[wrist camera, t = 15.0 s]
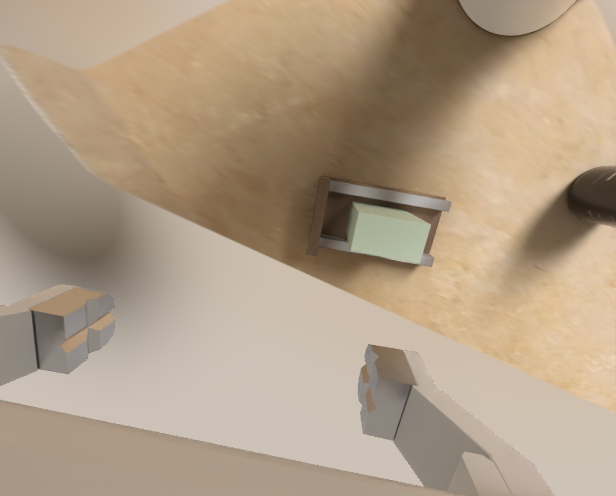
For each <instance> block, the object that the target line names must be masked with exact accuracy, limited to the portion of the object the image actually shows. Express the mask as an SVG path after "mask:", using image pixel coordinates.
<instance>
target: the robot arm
mask: <svg viewBox="0 0 616 496" xmlns="http://www.w3.org/2000/svg"><path fill="white" fill-rule="evenodd" d="M576 1H577V0H459V2H460V4H461V6H462V8H463V9H464V11H465V12H466V14H467V15H468V16H469V17H470V18H471V19H472V21H474V22H475V23H476V24H477V25H478V26H480V27H481V28H483V29H485V30H487V31H489V32H492V33H495V34H499V35H507V36H513V35H522V34H527V33H530V32H533V31H536V30H538V29H541V28H543V27H545V26H546V25H548V24H550V23H551V22H553V21H554V20H556V19H557V18H558V17H560V16H561V15H562V14H563V13H564V12H565V11H566V10H567V9H568V8H569V7H570V6H571V5H572V4H573V3H575V2H576ZM114 308H115V304H114V297H113V296H112V295H111V294H108V293H103V292H99V291H94V290H90V289H85V288H79V287H76V286H70V285H61V284H60V285H57V286H55V287H52V288H50V289H47V290H45V291H43V292H40V293H38V294H36V295H33V296H31V297H28V298H26V299H24V300H21V301H19V302H16V303H14V304H12V305H9V306H5V305H0V386H1V385H4V384H6V383H9V382H11V381H13V380H16V379H18V378H20V377H23V376H26V375H28V374H30V373H33V372H35V371H37V370H38V369H41V370H48V371H53V372H59V373H65V374H69V373H70V372H72V371H73V370H74V369H75V368H77V367H78V366H79V365H80V364H82V363H83V362H84V361H86V360H87V359H88V355H89V353H91V352H94V351H96V350H99V349H101V348H102V347H103V346H105V345H106V344H107V343H108V342H109V340H110V338H111V337H112V335H113V333H114V329H115V319H114V318H113V316H112V315H111V313H110V312H111V311H112V310H113V309H114ZM365 361H366V365H365V366H363V367H362V368H361V372H360V376H359V383H358V398H359V402H360V403H361V404H362V409H361V412H360V414H361V422H362V430H363V434H367V435H371V436H375V437H380V438H384V439H388V440H393V441H394V443H395V445H396V446H397V448H398V449H399V451H400V452H401V454H402V455H403V456H404V458H405V459H406V461H407V462H408V464H409V465H410V466H411V468H412V469H413V471H414V472H415V474H416V475H417V477H418V478H419V479H420V481H421V482H422V484H423V485H424V487H422V486H417V485H412V484H407V483H402V482H398V481H393V480H388V479H383V478H377V477H373V476H368V475H363V474H358V473H353V472H348V471H342V470H338V469H333V468H328V467H324V466H319V465H314V464H309V463H304V462H300V461H295V460H290V459H285V458H280V457H275V456H270V455H265V454H261V453H256V452H251V451H246V450H241V449H236V448H231V447H227V446H222V445H217V444H213V443H207V442H203V441H198V440H193V439H188V438H183V437H178V436H173V435H169V434H164V433H159V432H154V431H149V430H144V429H139V428H134V427H129V426H124V425H120V424H114V423H109V422H105V421H100V420H94V419H90V418H85V417H80V416H75V415H70V414H65V413H61V412H56V411H51V410H46V409H41V408H37V407H32V406H27V405H22V404H17V403H12V402H7V401H3V400H0V496H555V495H554V494H553V492H552V491H551V489H550V488H549V486H548V485H547V483H546V482H545V480H544V479H543V478H542V476H541V475H540V473H539V472H538V471H537V469H536V467H535V466H534V464H532V463H531V462H530V461H529V460H528V459H526V458H525V457H524V456H522V455H521V454H520V453H519V452H518V451H516V450H515V449H514V448H513V447H511V446H510V445H509V444H508V443H506V442H505V441H504V440H503V439H501V438H500V437H499V436H498V435H496V434H495V433H494V432H493V431H492V430H490V429H489V428H488V427H487V426H485V425H484V424H483V423H482V422H480V421H479V420H478V419H477V418H475V417H474V416H473V415H472V414H470V413H469V412H468V411H467V410H466V409H464V408H463V407H462V406H460V405H459V404H458V403H457V402H456V401H454V400H453V399H451V397H449V396H448V395H447V394H446V393H444V392H443V391H439V390H437V388H436V386H435V384H434V382H433V380H432V378H431V376H430V374H429V372H428V370H427V368H426V366H425V364H424V362H423V360H422V358H421V356H420V354H419V353H418V352H413V351H407V350H400V349H394V348H388V347H382V346H376V345H370V344H369V345H368V346H367V349H366V352H365Z"/></svg>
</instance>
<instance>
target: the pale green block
mask: <svg viewBox="0 0 616 496" xmlns="http://www.w3.org/2000/svg"><path fill="white" fill-rule="evenodd" d="M430 227H431V224H429V223H427V222H425V221H423V220H422V219H420V218H418V217H416V216H414V215H412V214H411V213H409V212H407V211H405V210H400V209H394V208H389V207H383V206H377V205H372V204H366V203H361V202H355V201H351V206H350V211H349V215H348V220H347V225H346V230H345V231H346V235H347V239H348V243H349V247H350V251H353V252H358V253H364V254H369V255H375V256H380V257H386V258H391V259H397V260H402V261H408V262H413V263H419V264H420V261H421V258H422V255H423V251H424V248H425V244H426V241H427V238H428V234H429V231H430Z"/></svg>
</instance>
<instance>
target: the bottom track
mask: <svg viewBox="0 0 616 496" xmlns="http://www.w3.org/2000/svg"><path fill="white" fill-rule="evenodd" d="M445 199H446V198H444V197H439V196H433V195H427V194H422V193H416V192H410V191H405V190H399V189H393V188H387V187H382V186H376V185H370V184H365V183H359V182H353V181H347V180H342V179H336V178H330V177H325V176H321V177H320V180H319V186H318V192H317V197H316V203H315V209H314V215H313V220H312V226H311V232H310V238H309V243H308V249H307V255H312V256H317V251H318V246H319V247H325V248H330V249H336V250H341V251H347V252H352V253H358V252H353V251H350V247H349V243H348V239H347V235H346V231H345V230H346V225H347V220H348V215H349V211H350V206H351V201H355V202H361V203H366V204H372V205H377V206H383V207H389V208H394V209H400V210H405V211H407V212H409V213H411V214H412V215H414V216H416V217H418V218H420V219H422V220H423V221H425V222H427V223H429V224H431V227H430V231H429V234H428V238H427V241H426V244H425V248H424V251H423V255H422V258H421V261H420V264H419V263H413V262H408V261H402V260H397V259H391V258H386V257H380V256H375V255H369V254H364V253H358V254H363V255H369V256H374V257H380V258H385V259H391V260H396V261H402V262H407V263H413V264H418V265H424V266H429V267H432V265H433V261H434V257H432V256H431V255H430V254H429V253H430V250H431V246H432V243H433V239H434V236H435V233H436V229H437V226H438V223H439V219H440V216H441V213H442V211H447V212H449V209H450V206H451V202H450V201H446V200H445Z"/></svg>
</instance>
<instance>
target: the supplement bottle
mask: <svg viewBox="0 0 616 496" xmlns="http://www.w3.org/2000/svg"><path fill="white" fill-rule="evenodd" d="M568 204H569V208H570V210H571V211H572V213H573V214H574V215H575V216H576V217H578V218H580V219H582V220H585V221H589V222H593V223H597V224H602V225H607V226H611V227H616V166H602V167H597V168H594V169H591V170H589V171H587V172H586V173H584V174H583V175H581V176H580V177H579V178H578V179H577V180H576V181H575V182H574V184H573V185H572V187H571V189H570V192H569V195H568Z"/></svg>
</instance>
